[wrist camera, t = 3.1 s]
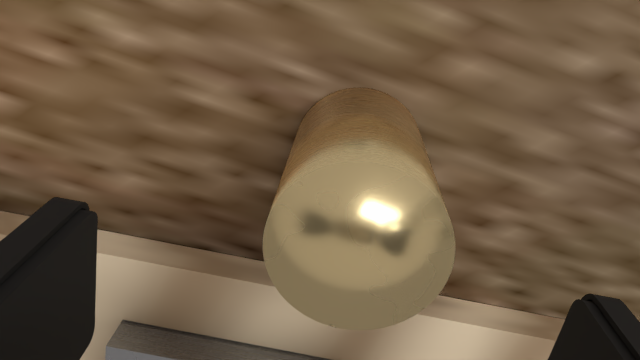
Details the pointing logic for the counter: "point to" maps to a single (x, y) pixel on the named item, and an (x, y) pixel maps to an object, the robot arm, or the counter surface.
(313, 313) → the hinge barrel
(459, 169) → the counter surface
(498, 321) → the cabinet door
